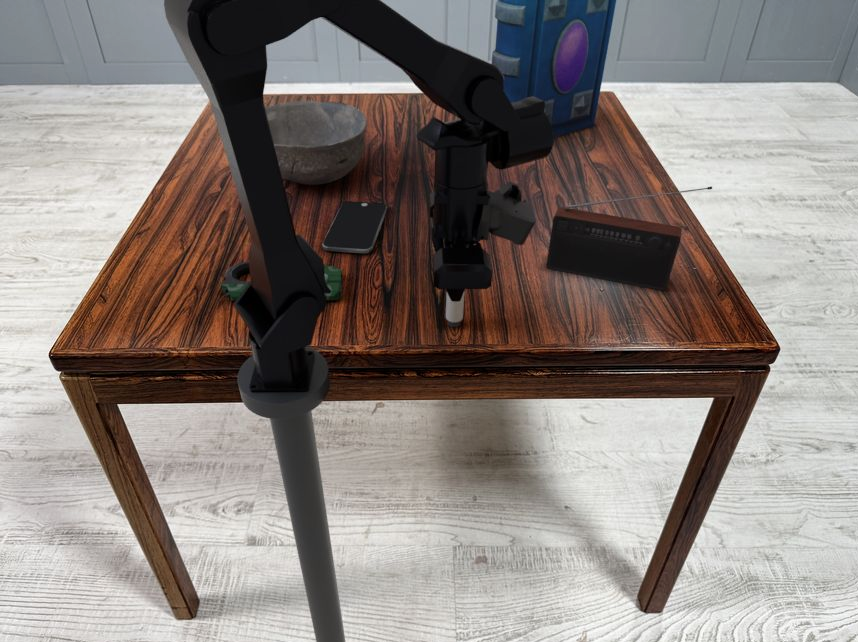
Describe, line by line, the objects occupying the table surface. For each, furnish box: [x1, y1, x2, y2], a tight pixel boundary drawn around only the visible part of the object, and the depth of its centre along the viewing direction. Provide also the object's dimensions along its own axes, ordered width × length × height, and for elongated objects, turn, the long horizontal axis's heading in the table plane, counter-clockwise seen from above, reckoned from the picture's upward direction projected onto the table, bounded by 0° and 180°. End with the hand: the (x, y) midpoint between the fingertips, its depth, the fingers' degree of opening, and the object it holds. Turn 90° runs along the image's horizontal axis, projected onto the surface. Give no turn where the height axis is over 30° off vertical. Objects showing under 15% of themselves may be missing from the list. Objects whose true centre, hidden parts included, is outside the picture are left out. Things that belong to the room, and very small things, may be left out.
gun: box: [220, 260, 344, 302], centre depth 90 cm, size 16×1×10 cm
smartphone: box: [321, 200, 388, 254], centre depth 102 cm, size 8×1×15 cm
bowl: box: [265, 99, 368, 186], centre depth 114 cm, size 21×21×10 cm
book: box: [491, 0, 617, 138], centre depth 122 cm, size 24×9×30 cm, turn 123°
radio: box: [545, 186, 713, 292], centre depth 87 cm, size 19×3×15 cm, turn 70°
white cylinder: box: [445, 289, 466, 328], centre depth 81 cm, size 2×2×9 cm
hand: (455, 295), depth 81 cm, fingers closed on white cylinder, 2 cm apart
